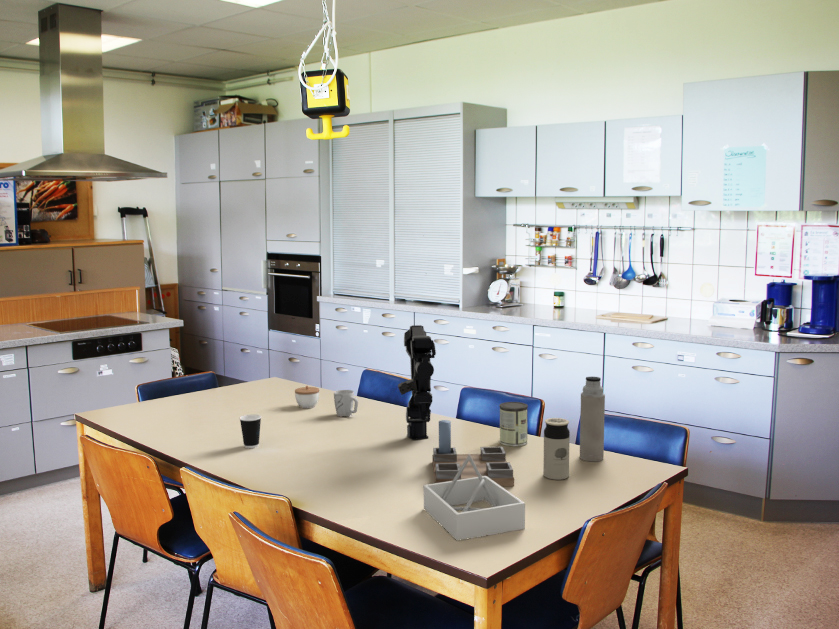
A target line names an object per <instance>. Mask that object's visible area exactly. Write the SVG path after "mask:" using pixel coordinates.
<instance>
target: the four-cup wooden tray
mask: <svg viewBox="0 0 839 629" xmlns="http://www.w3.org/2000/svg"><path fill="white" fill-rule="evenodd" d="M468 455H471V457H472V459H473V461H474V463H475V465H476V467H477V469H478V471H479V472H480V474H481V476H487V477H489V478H490V479H491V480H493V481H494V482H496V483H497V484H499V485H500V486H501V487H515V477H514V468H513V467H512V465H511V463H510V461H507V458H506V450H505V449H504V447H503V446H480V453H465V454H464V453H463V454H462V453H459V454H458V453H457V449H456V447H451V454H439V447H433V450H432V456H431V458H432V469H433V476H434V477H433V478H434V484H435V483H441V482H448V481H453V479H454V478H455V476H456V474H457V473H458V471H459V470H460V468H461V466H462V465H463V463H464V461H465V460H466V458H467V456H468ZM475 477H478V476H477V474H476V472H475V470H474V468H473V467H472V465H471V463H470V461H468V463H467V465H466V466H465V468H464V470H463V471H462V473H461V475H460V476H459V478H458V480H461V479H468V478H475Z"/></svg>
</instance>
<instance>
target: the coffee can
mask: <svg viewBox="0 0 839 629" xmlns="http://www.w3.org/2000/svg"><path fill="white" fill-rule="evenodd" d="M498 407H499V443H500V444H501V445H503V446H506V447H523V446H525V445H527V444H528V409H529V405H528V404H527V403H525V402H520V401H507V402H501V403H499V406H498Z"/></svg>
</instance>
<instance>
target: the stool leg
mask: <svg viewBox="0 0 839 629" xmlns="http://www.w3.org/2000/svg"><path fill="white" fill-rule="evenodd" d="M451 426H452V422H451V420H448V419H441V420H438V448H439V454H451V448H452V428H451Z"/></svg>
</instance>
